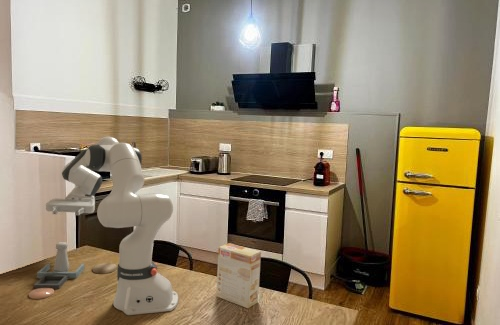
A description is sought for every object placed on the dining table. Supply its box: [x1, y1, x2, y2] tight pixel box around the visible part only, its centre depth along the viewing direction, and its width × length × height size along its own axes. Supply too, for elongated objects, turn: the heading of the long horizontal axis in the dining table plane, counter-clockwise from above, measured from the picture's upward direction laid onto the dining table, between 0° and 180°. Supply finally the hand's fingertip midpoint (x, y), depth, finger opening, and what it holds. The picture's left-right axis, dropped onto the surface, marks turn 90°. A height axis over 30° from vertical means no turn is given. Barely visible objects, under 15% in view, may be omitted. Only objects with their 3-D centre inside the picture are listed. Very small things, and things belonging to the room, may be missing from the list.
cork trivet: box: [92, 262, 118, 275], centre depth 159 cm, size 10×10×1 cm
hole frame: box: [33, 275, 69, 290], centre depth 143 cm, size 9×9×2 cm
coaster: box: [28, 288, 55, 300], centre depth 134 cm, size 8×8×1 cm
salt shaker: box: [53, 241, 70, 272], centre depth 152 cm, size 6×6×13 cm
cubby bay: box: [36, 263, 85, 279], centre depth 152 cm, size 10×15×2 cm, turn 97°
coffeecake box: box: [215, 242, 262, 309], centre depth 138 cm, size 15×7×20 cm, turn 56°
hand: (65, 213), depth 161 cm, fingers open, 8 cm apart
